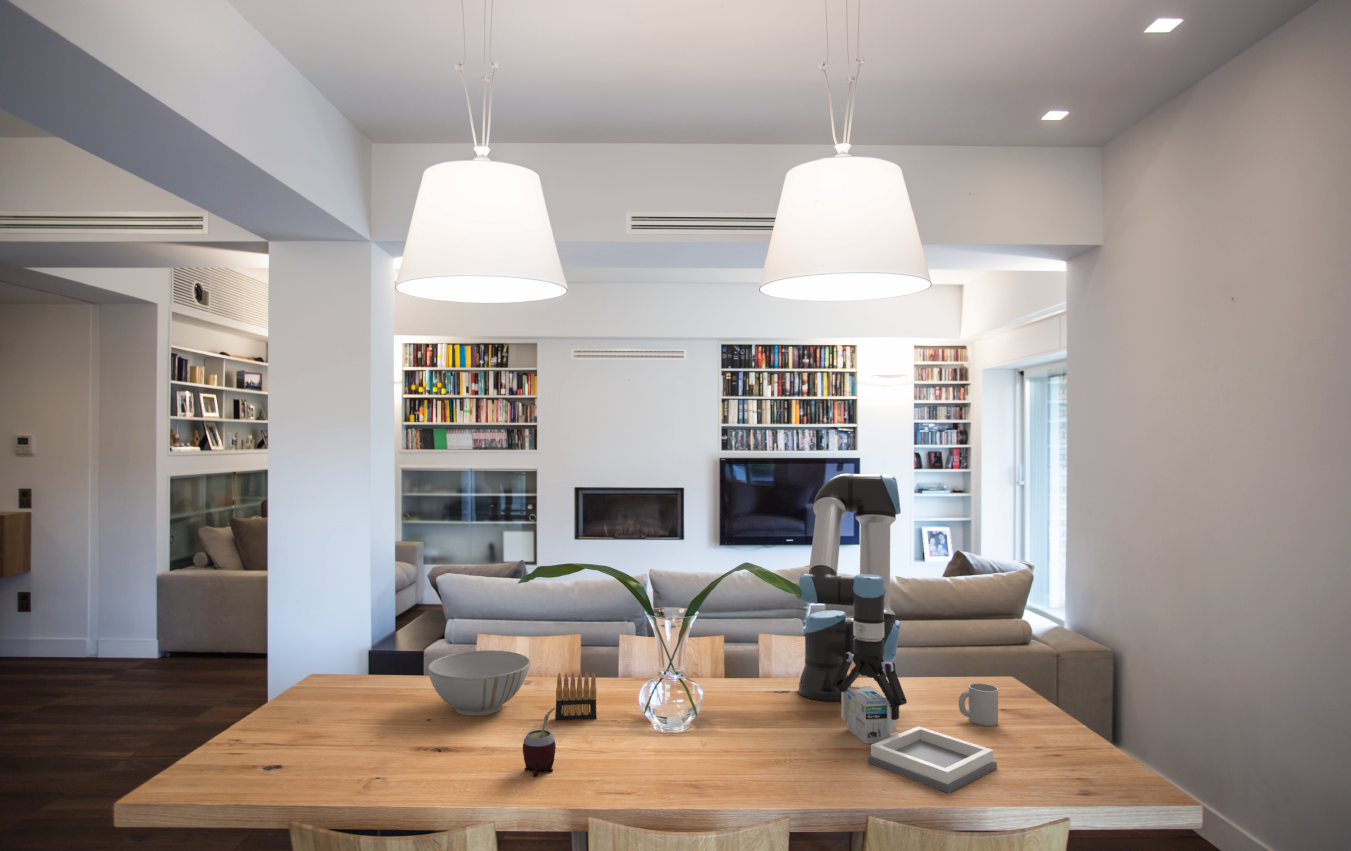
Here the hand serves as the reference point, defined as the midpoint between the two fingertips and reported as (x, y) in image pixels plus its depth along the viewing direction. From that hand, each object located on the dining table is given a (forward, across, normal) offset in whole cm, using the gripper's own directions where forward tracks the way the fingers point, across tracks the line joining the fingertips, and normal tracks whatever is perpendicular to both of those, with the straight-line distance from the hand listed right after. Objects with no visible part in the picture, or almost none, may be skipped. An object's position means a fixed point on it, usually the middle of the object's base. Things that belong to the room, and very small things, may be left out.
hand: (868, 724), depth 192 cm
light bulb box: (+3, 0, 0) cm, 3 cm away
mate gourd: (+4, -32, -74) cm, 81 cm away
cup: (+3, +12, +31) cm, 34 cm away
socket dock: (+3, +20, -4) cm, 20 cm away
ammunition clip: (+3, -55, -50) cm, 74 cm away
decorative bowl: (+3, -78, -66) cm, 102 cm away
